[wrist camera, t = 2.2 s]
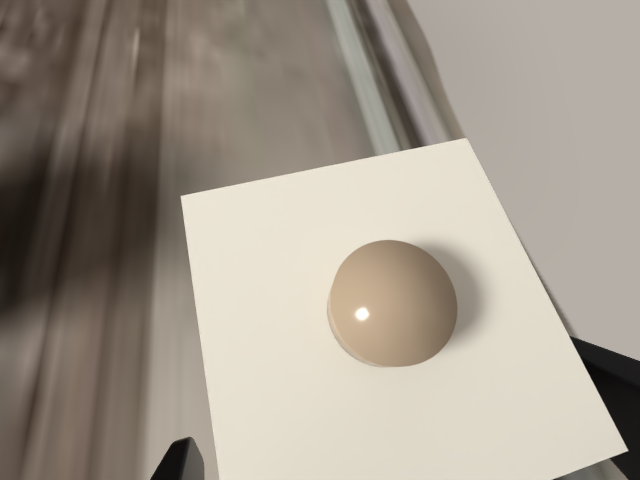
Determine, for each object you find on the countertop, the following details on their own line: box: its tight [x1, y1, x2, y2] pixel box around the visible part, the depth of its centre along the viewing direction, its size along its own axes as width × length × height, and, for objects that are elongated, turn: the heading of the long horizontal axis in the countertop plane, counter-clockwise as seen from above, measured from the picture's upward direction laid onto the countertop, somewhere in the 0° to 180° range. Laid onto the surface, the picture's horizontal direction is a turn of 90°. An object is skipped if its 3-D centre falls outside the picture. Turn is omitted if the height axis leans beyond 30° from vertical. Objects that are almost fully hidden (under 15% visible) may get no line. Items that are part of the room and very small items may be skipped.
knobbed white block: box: [181, 138, 628, 480], centre depth 11 cm, size 6×6×13 cm
